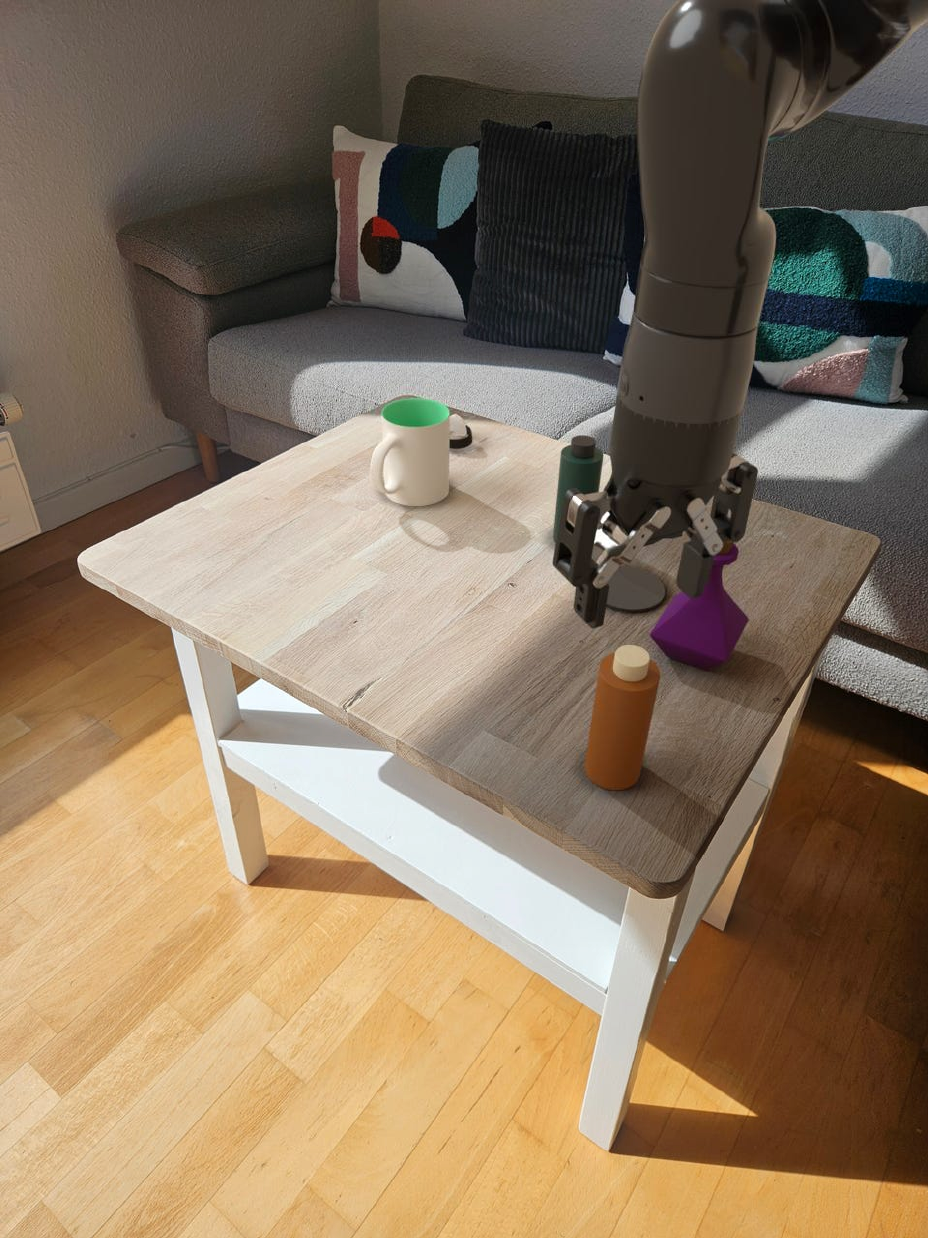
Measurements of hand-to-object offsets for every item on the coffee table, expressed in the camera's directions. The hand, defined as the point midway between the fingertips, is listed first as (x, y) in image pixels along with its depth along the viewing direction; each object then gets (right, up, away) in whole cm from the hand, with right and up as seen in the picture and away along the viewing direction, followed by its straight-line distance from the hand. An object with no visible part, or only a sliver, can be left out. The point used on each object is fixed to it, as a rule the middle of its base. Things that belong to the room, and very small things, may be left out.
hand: (640, 606), depth 62 cm
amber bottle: (0, -14, +11) cm, 17 cm away
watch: (-15, +23, +58) cm, 64 cm away
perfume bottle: (+10, -4, +23) cm, 25 cm away
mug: (-20, +14, +46) cm, 52 cm away
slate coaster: (+5, +2, +31) cm, 31 cm away
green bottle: (0, +8, +39) cm, 39 cm away
